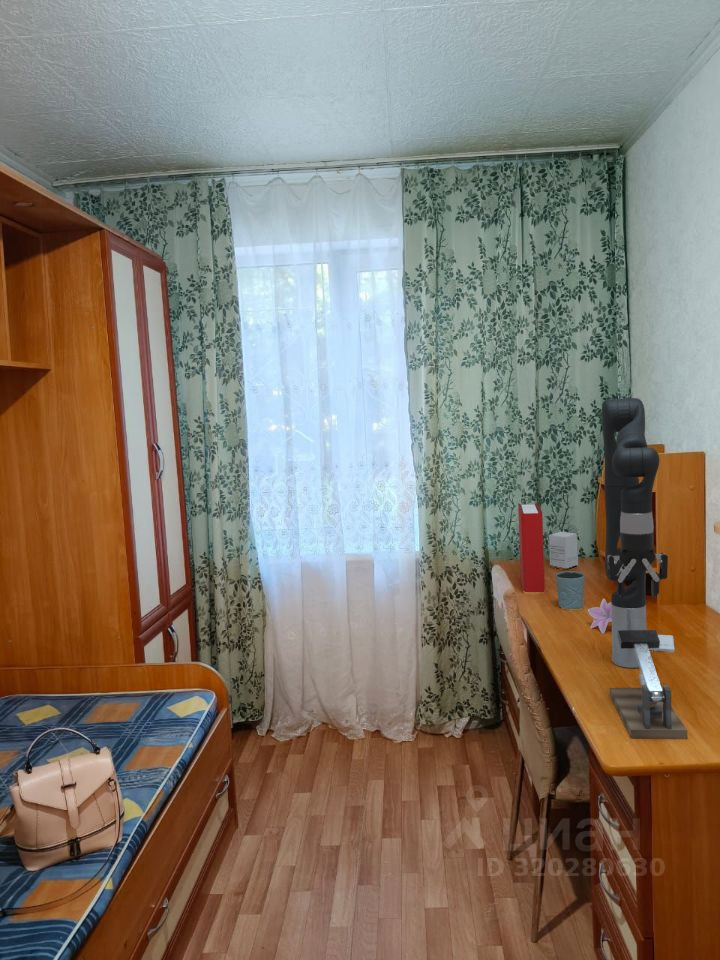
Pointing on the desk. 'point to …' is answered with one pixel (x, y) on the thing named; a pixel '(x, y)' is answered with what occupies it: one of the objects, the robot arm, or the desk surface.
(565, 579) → the blue plant pot
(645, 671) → the lever
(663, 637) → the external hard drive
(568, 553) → the supplement box
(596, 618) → the lily
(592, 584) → the desk surface
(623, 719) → the base
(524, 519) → the book
